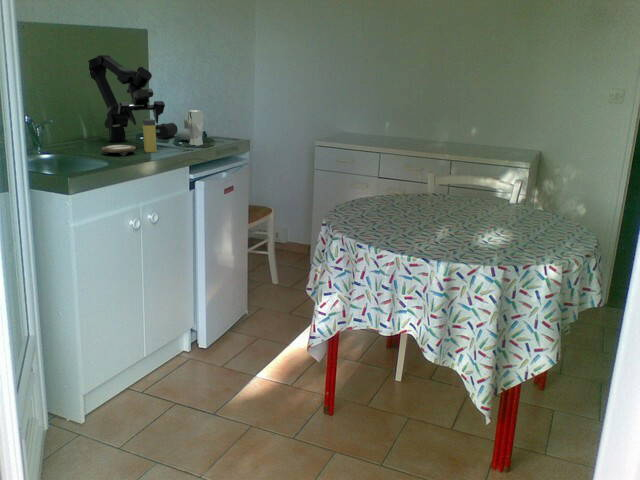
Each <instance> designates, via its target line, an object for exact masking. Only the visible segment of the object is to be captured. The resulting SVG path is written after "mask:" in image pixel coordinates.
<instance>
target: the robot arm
mask: <svg viewBox="0 0 640 480" xmlns="http://www.w3.org/2000/svg"><path fill="white" fill-rule="evenodd" d="M88 60H89V61H88ZM88 60H87V61H88V62H89V70H90V75H91V77H90V79H92V80H94V82H95V83H96V86H97V88H98V91H99V92H100V94H101V97H102V99H103V102H104V103H105V105H106V108H107V111H106V117H107V118H106V119H105V121H104V127H105V129H108V135H109V139H107V140H106V141H107V142H110V143H111V142H114V143H122V142H126V141H128V139H126V131H125V128H128V125H129V121H130V122H131V123H132V124H133V125H134V126H137V122H136V118H135V116H134V113H133V111H134V112H135V111H139V112H140V111H152V112H153V118H154V120H155V125H159V116H161V115H162V114H163V113H164V110H165V106H166V103H165V102H164V101H163V100H155V101H153V104H148V103H149V102H150V100H149V99H150V98H152V97H153V96H154V91H153V89H152V88H146V87H147V85H148V84H149V82H150V80H151V79H152V77H153V75H152V72H150V71H149V70H148V69H145V68H144V67H143V66H138V67H137V71H136V70H135V69H132V68H129V67H126V66H125V67H124V66H123V65H122V64H120V63H119V62H117V61H116V60H114V59H113V57H111V56H110V55H108V54H99V55H97V56H96V57H94V58H92V59H88ZM108 70H109V71H110V72H111V73H113V74H114V75H115V76H116V79H117V80H118V81H119V83H121V84H122V85H128V86H127V89H126V93H127V94H129V95H130V98H131V103H130V101H120V102H119V103H118V100H117V99H116V96H115V94H114V92H113V90H112V88H111V86H110V84H109V81H108V79H107V76H106V75H107V71H108ZM143 88H144V89H143Z"/></svg>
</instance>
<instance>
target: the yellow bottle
mask: <svg viewBox="0 0 640 480" xmlns="http://www.w3.org/2000/svg"><path fill="white" fill-rule="evenodd" d="M155 125H156V122H155V119H152V118H149V119H148V118H147V119H146V118H145V119H142V132H143V147H144V149H143V150H144V152H145V153H157V152H158V151H157V150H158V149H157V139H156V137H157V136H156V132H157V130H156V129H155Z"/></svg>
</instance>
